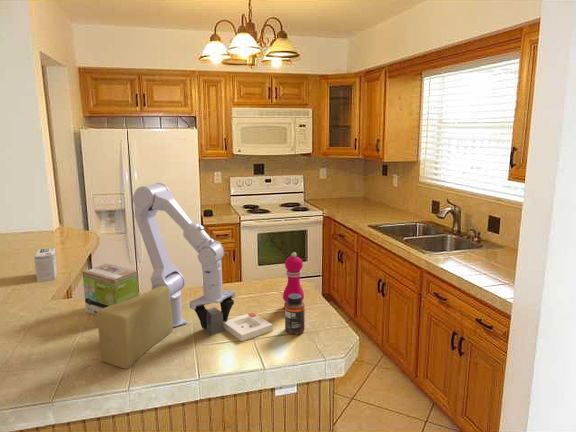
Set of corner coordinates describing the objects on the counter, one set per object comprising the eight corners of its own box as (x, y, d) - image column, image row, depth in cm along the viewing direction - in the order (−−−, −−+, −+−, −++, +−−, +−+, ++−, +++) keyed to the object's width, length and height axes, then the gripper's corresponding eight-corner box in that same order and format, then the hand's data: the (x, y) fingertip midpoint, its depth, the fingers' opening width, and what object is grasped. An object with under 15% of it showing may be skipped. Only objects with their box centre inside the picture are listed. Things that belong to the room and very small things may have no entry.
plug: (211, 334, 127) (211, 315, 125) (203, 328, 131) (203, 309, 129) (223, 331, 129) (222, 311, 128) (215, 325, 133) (214, 306, 132)
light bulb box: (39, 274, 178) (36, 249, 175) (57, 271, 180) (54, 247, 178) (36, 282, 168) (33, 256, 166) (55, 279, 171) (53, 254, 169)
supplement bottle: (299, 324, 134) (300, 291, 131) (307, 333, 128) (308, 298, 126) (282, 327, 132) (282, 293, 129) (289, 336, 126) (289, 300, 124)
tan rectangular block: (158, 327, 131) (156, 281, 128) (183, 334, 127) (181, 286, 124) (99, 361, 112) (94, 308, 109) (126, 371, 108) (122, 316, 105)
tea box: (84, 313, 141) (80, 270, 138) (110, 302, 149) (106, 262, 146) (116, 323, 134) (113, 278, 131) (141, 311, 143) (138, 269, 140)
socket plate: (241, 341, 123) (241, 334, 122) (222, 327, 131) (222, 320, 131) (272, 330, 130) (272, 323, 129) (252, 318, 138) (252, 311, 138)
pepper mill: (301, 313, 142) (302, 256, 138) (280, 311, 143) (281, 254, 139) (305, 304, 149) (306, 250, 145) (285, 303, 150) (285, 248, 146)
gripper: (196, 292, 119) (198, 336, 122) (240, 280, 128) (241, 322, 131) (185, 285, 125) (187, 327, 128) (228, 274, 134) (229, 314, 136)
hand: (214, 324), depth 130 cm, fingers open, 6 cm apart
